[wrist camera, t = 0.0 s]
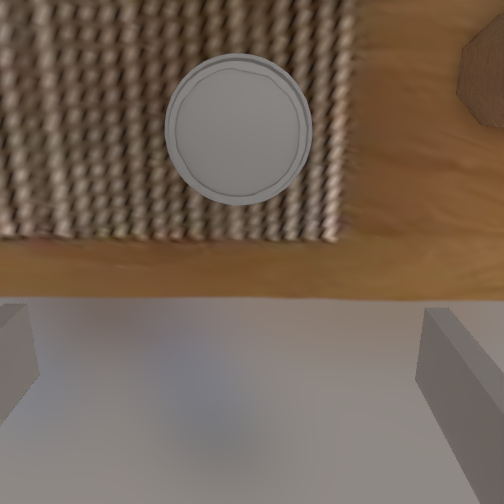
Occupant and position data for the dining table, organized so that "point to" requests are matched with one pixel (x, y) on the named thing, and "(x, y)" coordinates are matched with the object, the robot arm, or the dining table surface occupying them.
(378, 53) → the dining table surface
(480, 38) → the sleeve
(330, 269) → the dining table surface
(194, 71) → the disposable coffee cup
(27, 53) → the dining table surface
